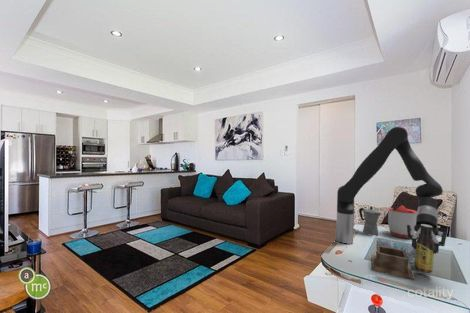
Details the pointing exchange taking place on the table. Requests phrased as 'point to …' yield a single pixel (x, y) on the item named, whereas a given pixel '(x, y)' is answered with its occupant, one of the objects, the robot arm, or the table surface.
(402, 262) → the bottle stand
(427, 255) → the sauce bottle
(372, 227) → the coffeepot
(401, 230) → the citrus juicer
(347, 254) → the table surface
